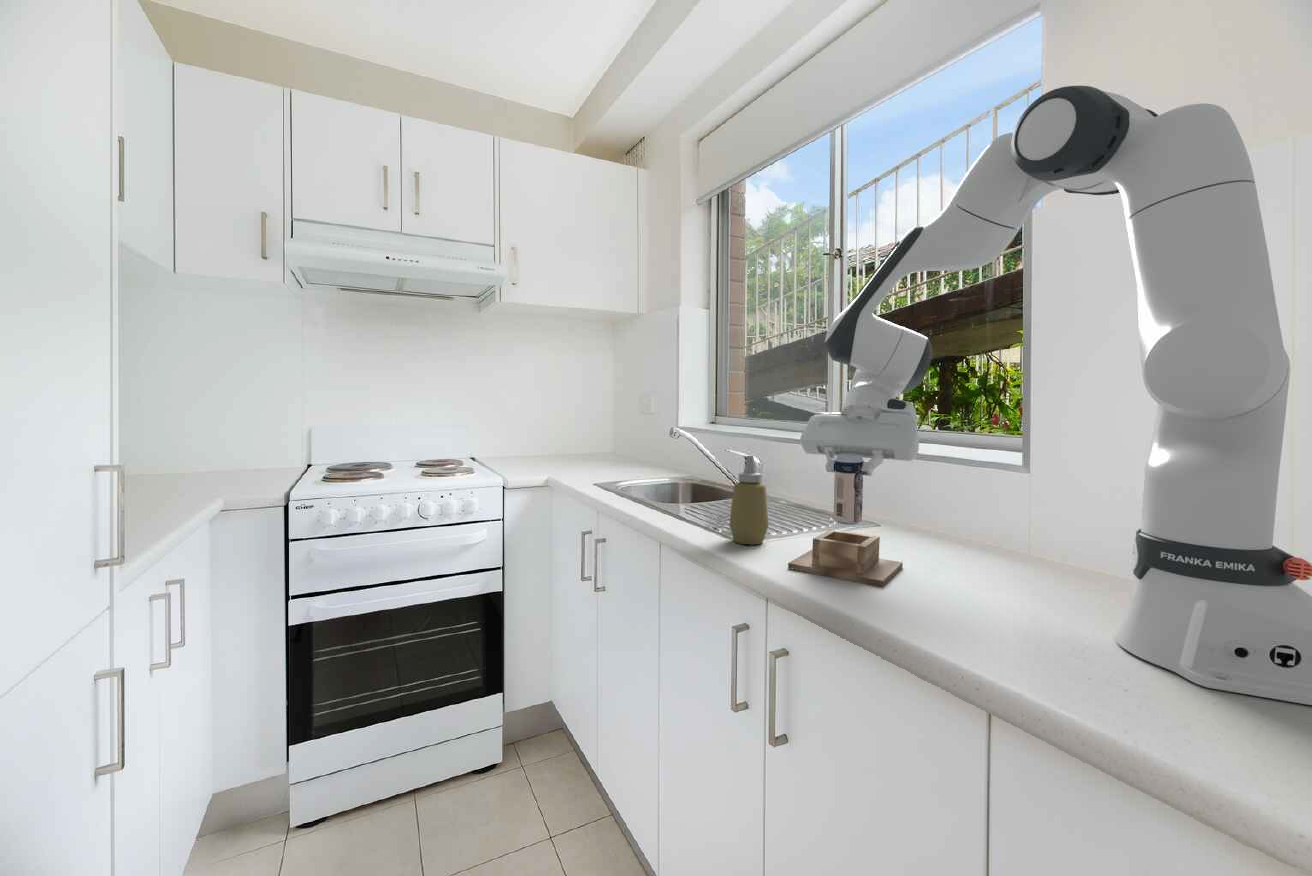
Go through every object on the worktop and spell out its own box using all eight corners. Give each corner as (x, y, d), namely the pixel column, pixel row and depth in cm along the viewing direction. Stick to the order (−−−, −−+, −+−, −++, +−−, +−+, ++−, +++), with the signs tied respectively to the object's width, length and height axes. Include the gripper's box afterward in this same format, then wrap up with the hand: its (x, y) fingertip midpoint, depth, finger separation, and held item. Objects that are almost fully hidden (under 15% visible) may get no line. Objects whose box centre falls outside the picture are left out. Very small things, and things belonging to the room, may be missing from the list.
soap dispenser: (727, 536, 123) (728, 453, 122) (765, 537, 123) (767, 454, 122) (730, 546, 115) (732, 457, 114) (771, 547, 115) (773, 458, 114)
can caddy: (902, 567, 102) (903, 537, 101) (882, 587, 91) (884, 553, 91) (814, 552, 111) (815, 524, 111) (788, 568, 101) (788, 537, 100)
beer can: (864, 526, 98) (866, 456, 97) (835, 525, 99) (836, 456, 98) (859, 519, 103) (861, 453, 102) (831, 518, 104) (833, 452, 103)
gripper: (808, 401, 111) (786, 455, 104) (922, 403, 99) (907, 465, 92) (815, 423, 115) (795, 477, 108) (926, 428, 103) (912, 489, 96)
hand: (847, 471), depth 100 cm, fingers closed on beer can, 5 cm apart
